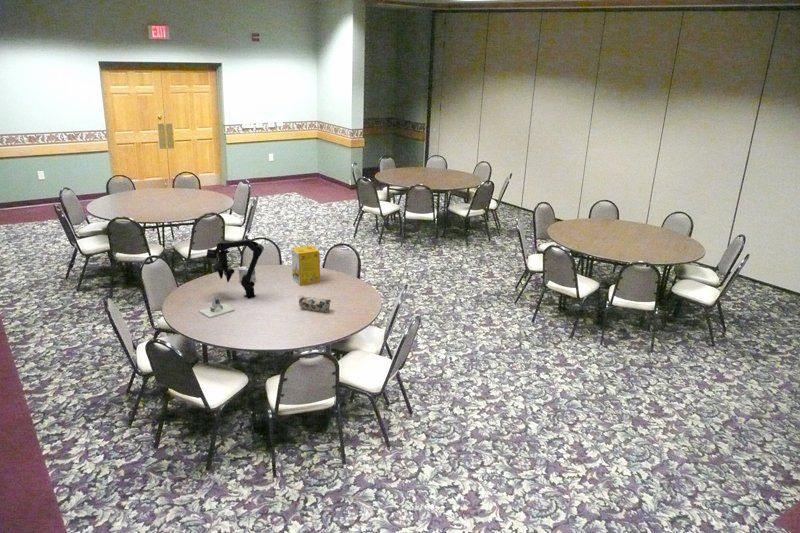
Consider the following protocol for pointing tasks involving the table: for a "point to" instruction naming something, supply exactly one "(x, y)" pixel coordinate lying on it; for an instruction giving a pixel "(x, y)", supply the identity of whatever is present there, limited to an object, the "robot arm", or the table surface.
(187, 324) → the table surface
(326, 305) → the pencil case
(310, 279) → the packaging box
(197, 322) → the table surface
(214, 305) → the block
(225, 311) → the pin tray
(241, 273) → the light bulb box
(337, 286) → the table surface
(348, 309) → the table surface
